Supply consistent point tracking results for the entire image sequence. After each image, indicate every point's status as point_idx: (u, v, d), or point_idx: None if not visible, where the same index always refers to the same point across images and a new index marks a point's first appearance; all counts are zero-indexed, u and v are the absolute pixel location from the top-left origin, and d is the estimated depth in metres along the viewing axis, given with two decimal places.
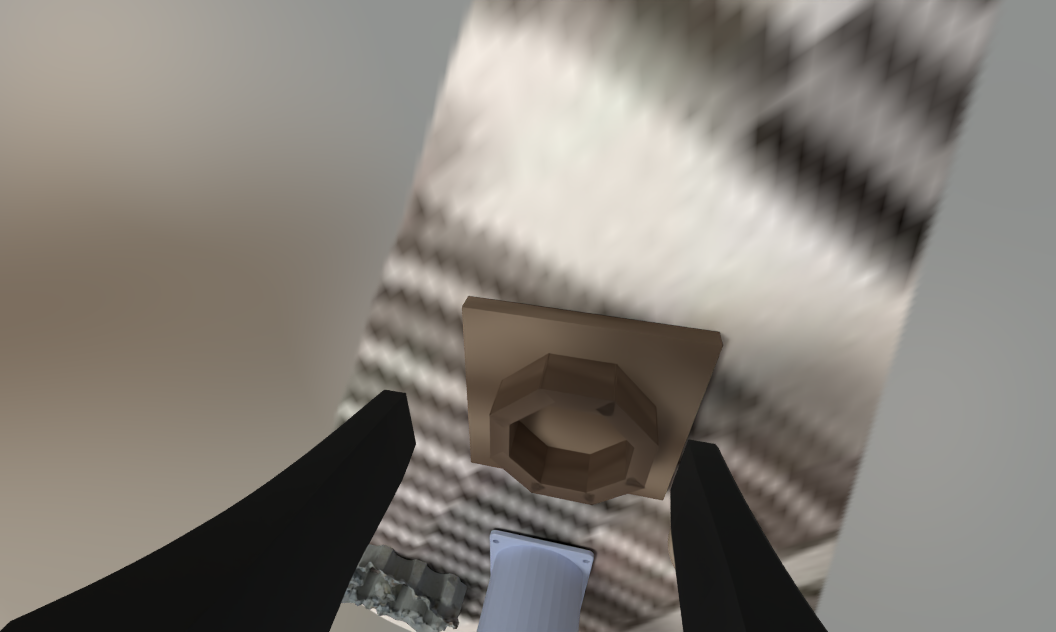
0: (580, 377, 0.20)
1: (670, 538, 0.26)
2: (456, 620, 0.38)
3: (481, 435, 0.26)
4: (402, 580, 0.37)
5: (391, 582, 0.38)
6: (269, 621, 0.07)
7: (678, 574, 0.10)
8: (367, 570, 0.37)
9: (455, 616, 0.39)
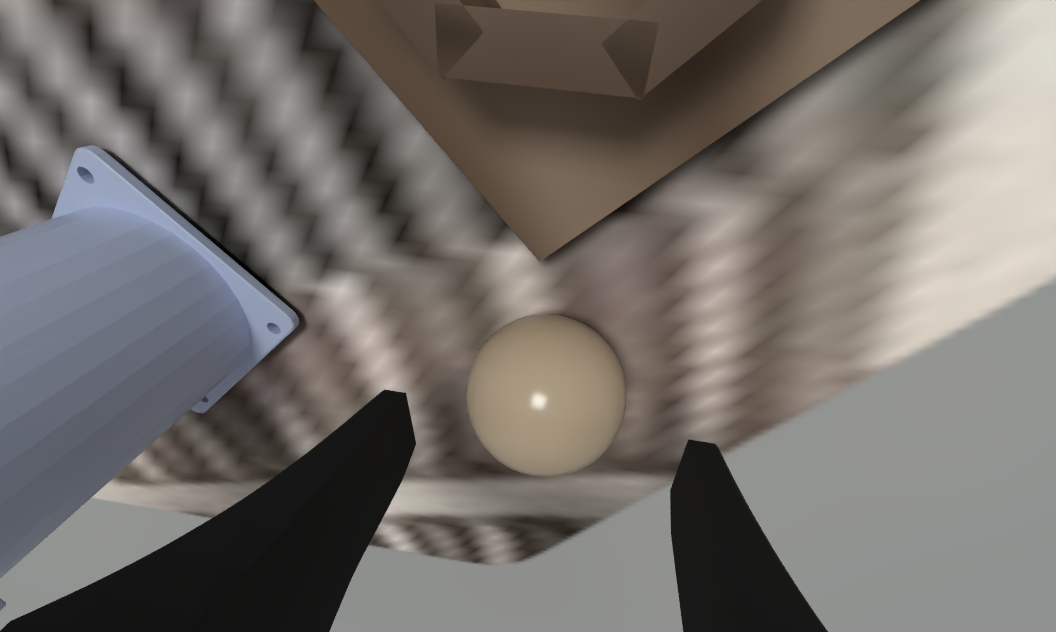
0: None
1: (501, 335, 0.12)
2: None
3: None
4: None
5: None
6: (269, 621, 0.07)
7: (677, 574, 0.10)
8: None
9: None
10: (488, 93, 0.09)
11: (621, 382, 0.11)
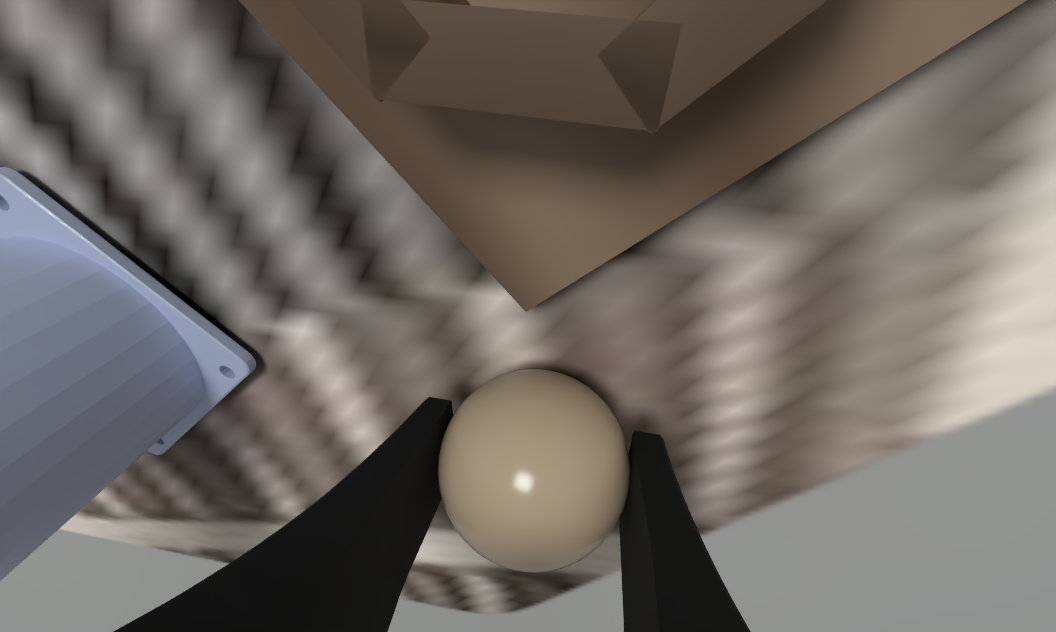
0: None
1: (479, 400, 0.10)
2: None
3: None
4: None
5: None
6: None
7: (622, 562, 0.10)
8: None
9: None
10: (457, 113, 0.08)
11: (624, 459, 0.09)
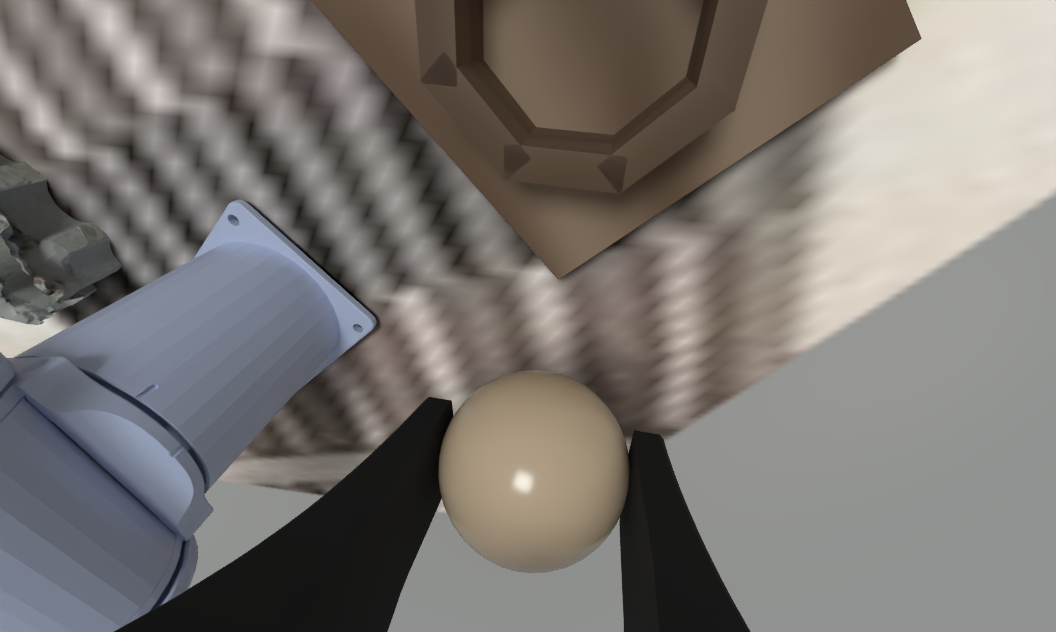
0: None
1: (479, 401, 0.10)
2: (60, 288, 0.20)
3: None
4: None
5: None
6: None
7: (621, 563, 0.10)
8: None
9: None
10: None
11: (623, 459, 0.09)
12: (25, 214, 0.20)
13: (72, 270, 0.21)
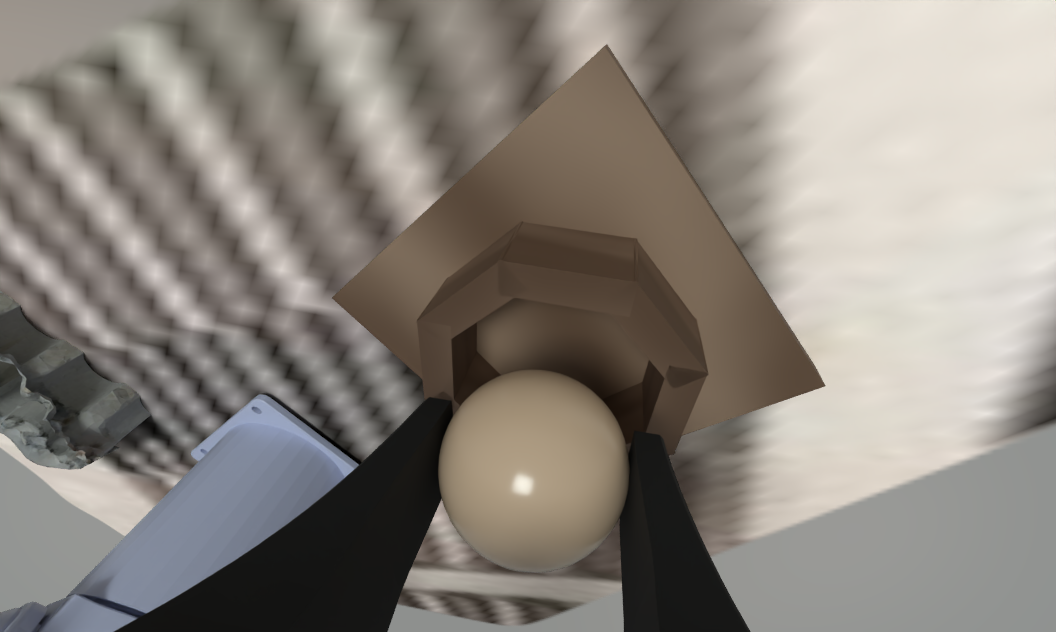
0: (671, 306, 0.12)
1: (479, 401, 0.10)
2: (98, 453, 0.22)
3: (392, 274, 0.15)
4: (9, 356, 0.20)
5: None
6: None
7: (622, 562, 0.10)
8: None
9: (102, 448, 0.23)
10: None
11: (623, 459, 0.09)
12: (66, 386, 0.22)
13: (108, 432, 0.23)
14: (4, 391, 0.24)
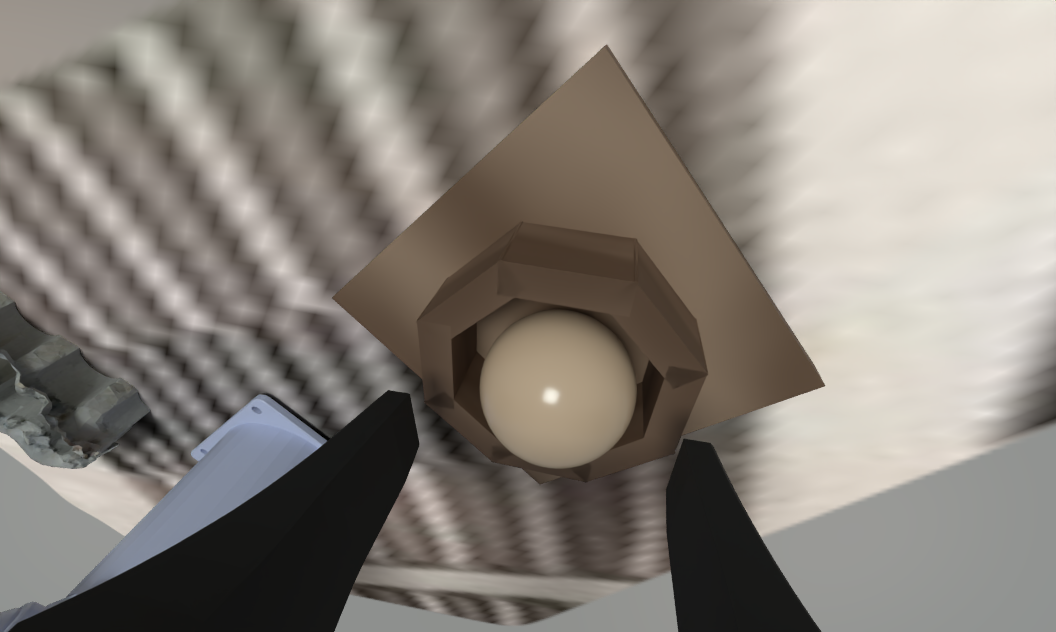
0: (671, 306, 0.12)
1: (514, 332, 0.12)
2: (96, 448, 0.22)
3: (392, 274, 0.15)
4: (2, 351, 0.20)
5: None
6: (274, 623, 0.07)
7: (673, 573, 0.10)
8: None
9: (101, 444, 0.23)
10: None
11: (632, 370, 0.12)
12: (62, 382, 0.22)
13: (106, 427, 0.23)
14: (6, 391, 0.24)
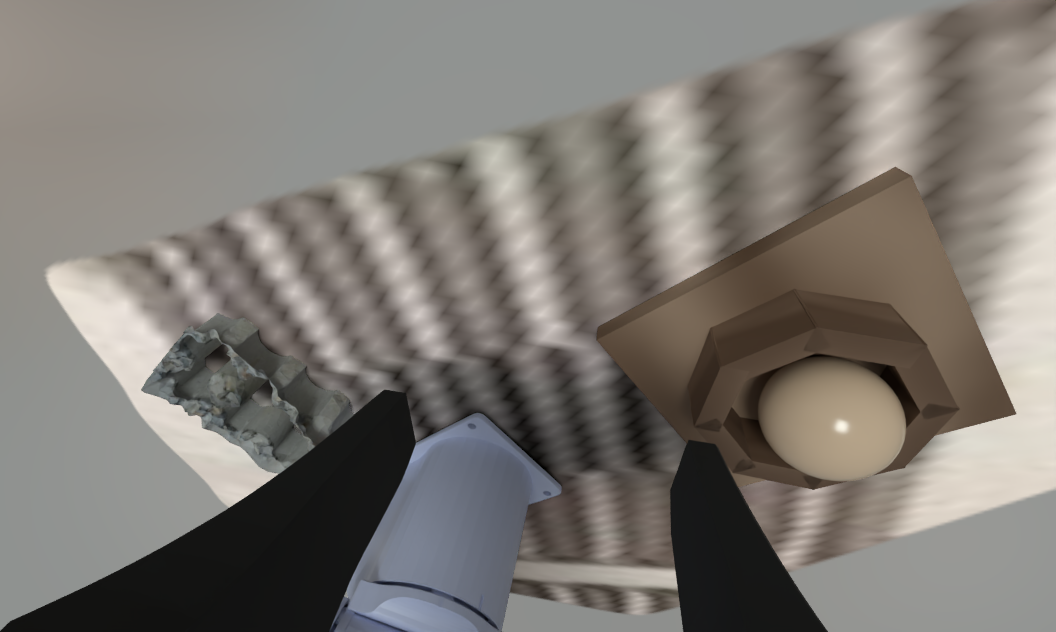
0: None
1: (812, 380, 0.15)
2: None
3: (661, 324, 0.18)
4: (262, 371, 0.24)
5: (242, 371, 0.24)
6: (269, 621, 0.07)
7: (677, 574, 0.10)
8: (206, 340, 0.23)
9: None
10: None
11: None
12: (296, 396, 0.26)
13: None
14: (236, 409, 0.28)
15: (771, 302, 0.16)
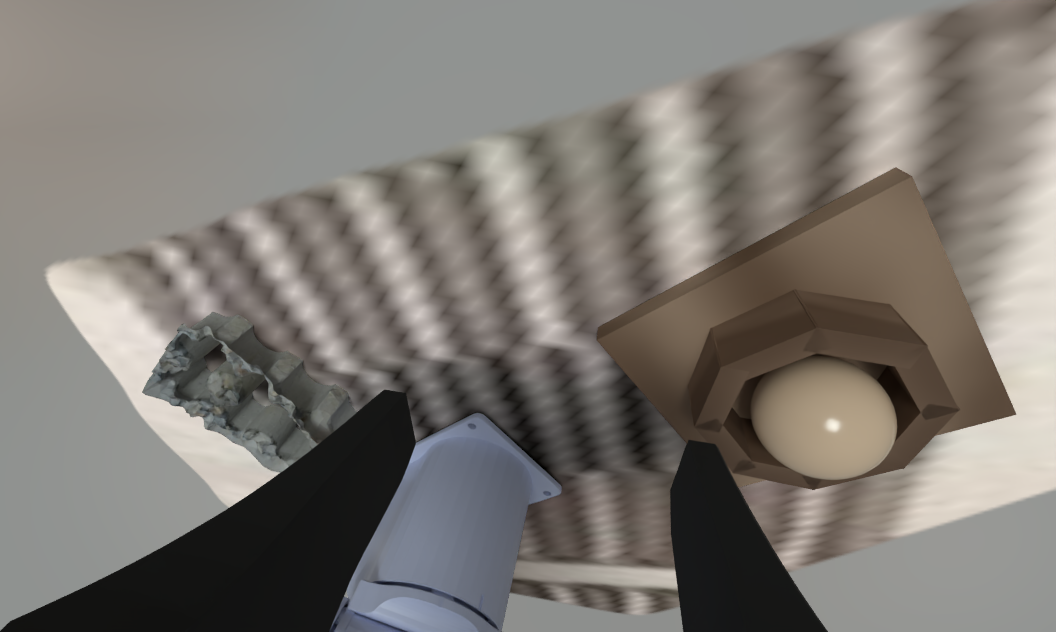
0: None
1: (801, 375, 0.15)
2: None
3: (661, 324, 0.18)
4: (257, 366, 0.23)
5: (237, 368, 0.24)
6: (269, 621, 0.07)
7: (677, 574, 0.10)
8: (200, 337, 0.23)
9: None
10: None
11: None
12: (294, 391, 0.25)
13: (332, 427, 0.26)
14: (238, 409, 0.28)
15: (771, 302, 0.16)
